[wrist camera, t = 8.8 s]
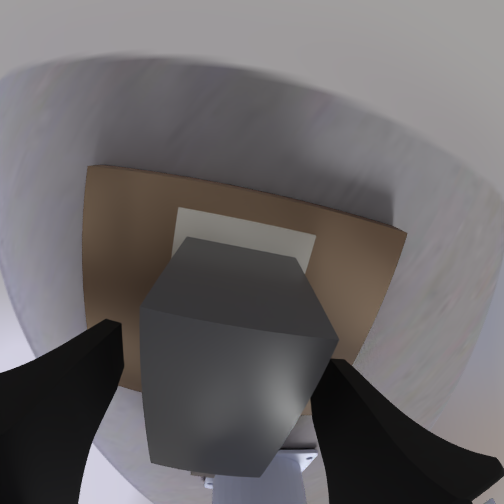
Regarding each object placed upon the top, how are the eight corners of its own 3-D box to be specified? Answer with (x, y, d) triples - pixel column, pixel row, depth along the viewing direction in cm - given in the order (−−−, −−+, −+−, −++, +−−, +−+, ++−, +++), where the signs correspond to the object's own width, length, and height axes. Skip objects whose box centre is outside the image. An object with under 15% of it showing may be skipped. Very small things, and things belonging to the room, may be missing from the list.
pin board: (318, 400, 14) (332, 449, 11) (103, 364, 13) (78, 410, 9) (393, 226, 11) (445, 253, 7) (102, 164, 10) (47, 170, 6)
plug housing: (245, 412, 13) (248, 492, 8) (171, 400, 12) (154, 479, 7) (295, 257, 10) (339, 339, 5) (186, 236, 9) (139, 306, 5)
